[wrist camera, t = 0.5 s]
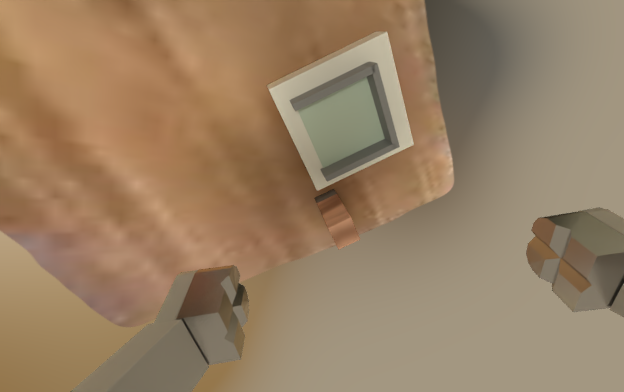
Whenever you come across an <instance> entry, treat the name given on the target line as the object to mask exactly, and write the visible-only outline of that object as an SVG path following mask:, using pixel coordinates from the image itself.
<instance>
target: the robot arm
mask: <svg viewBox="0 0 624 392" xmlns="http://www.w3.org/2000/svg"><path fill="white" fill-rule="evenodd" d="M532 232H533V233H534V234H535V237H534V238H533V239H532V240H531V241H530V242H529V243H528V246H527V251H526V255H527V259H528V263H529V265H530V267H531V268H532V270H533V271H534V272H535V273H536V274H537V275H538V277H539V278H541V279H544V280H546V281H548V282H550V283H552V291H553V292H554V293H555V294H556V295H557V296H558V297H559V298H560V299H561V300H562V301H563V302H564V303H565V304H566V305H567V306H568V307H569V308H570V309H571V310H572V311H573V312H578V311H587V310H596V309H605V308H610V310H611V311H613V312H615V313H617V314H619V315H621V316H622V317H624V219H623V218H622V217H620V216H618V215H616V214H615V213H613V212H611V211H610V210H608V209H603V208H593V209H587V210H582V211H578V212H572V213H566V214H559V215H553V216H548V217H541V218H538V219H537V220H536V221H535V222H534V224H533V227H532ZM239 279H240V273H239V271H238V269H237V267H236V266H234V265H231V266H223V267H215V268H208V269H200V270H195V271H188V272H181V273H180V274H178V275H177V276H176V278H175V280H174V282H173V284H172V287H171V289H170V291H169V293H168V295H167V297H166V299H165V301H164V303H163V305H162V307H161V309H160V311H159V313H158V315H157V318H156V320H155V322H154V323H152V324H148V325H146V326H145V327H144V328H143V329H142V330H141V331H140V332H138V333H137V334H136V335H135V336H134V337H133V338H131V339H130V340H129V341H128V342H127V343H126V344H125V345H123V346H122V347H121V348H120V349H119V350H118V351H117V352H116V353H114V354H113V355H112V356H111V357H110V358H109V359H107V360H106V361H105V362H104V363H103V364H102V365H101V366H99V367H98V368H97V369H96V370H95V371H94V372H93V373H92V374H90V375H89V376H88V377H87V378H86V379H84V380H83V381H82V382H81V383H80V384H79V385H78V386H77V387H75V388H74V389H73V390H72V391H71V392H192V390H193V389H194V387H195V386H196V385H197V383H198V382H199V380H200V379H201V377H202V376H203V375H204V373H205V372H206V370H207V369H208V368H209V366H208V365H211V364H217V363H223V362H229V361H235V360H240V359H241V356H242V351H243V345H244V338H245V335H244V332H243V330H242V327H243V326H244V324H245V323H246V322H247V320H248V313H249V300H248V295H247V292H246V289H245V287H244V286H243V285H241V284H240V283H239Z"/></svg>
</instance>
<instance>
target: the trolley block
mask: <svg viewBox="0 0 624 392" xmlns="http://www.w3.org/2000/svg"><path fill="white" fill-rule="evenodd" d="M315 200H316V202H317V205H318V207H319V209H320V211H321V214H322V216H323V218H324V220H325V223H326V225H327V227H328V229H329V231H330V233H331V235H332V237H333V239H334V241H335V243H336V245H337V247H338V249H341V248H343V247H345V246H347V245H349V244H351V243H353V242H356V241H358V240H360V237H359V235H358V233H357V230H356V228H355V226H354V223H353V221H352V219H351V217H350V215H349V213H348V212H347V210H346V208H345V207H344V205H343V203H342V202H341V200H340V198H339V197H338V195H337V193H336V192H335V190H334V189H332V190H330V191H328V192H326V193H324V194H322V195H320V196H318V197H316V198H315Z"/></svg>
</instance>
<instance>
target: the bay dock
mask: <svg viewBox="0 0 624 392" xmlns="http://www.w3.org/2000/svg"><path fill="white" fill-rule="evenodd" d="M267 87H268V89H269V91H270V94H271V96H272V98H273V100H274V102H275V104H276V106H277V108H278V110H279V112H280V114H281V117H282V119H283V121H284V123H285V125H286V127H287V129H288V131H289V133H290V135H291V137H292V140H293V142H294V144H295V146H296V148H297V150H298V152H299V154H300V156H301V158H302V160H303V163H304V165H305V167H306V169H307V171H308V173H309V175H310V177H311V179H312V181H313V183H314V186H315V188H316V190H317V191H318V190H320V189H323V188H325V187H327V186H329V185H331V184H333V183H335V182H337V181H339V180H341V179H343V178H345V177H348V176H350V175H352V174H354V173H356V172H358V171H360V170H362V169H364V168H366V167H368V166H370V165H373V164H375V163H377V162H379V161H381V160H383V159H385V158H387V157H389V156H391V155H393V154H395V153H398V152H400V151H402V150H404V149H406V148H408V147H410V146H412V145H414V143H413V139H412V135H411V130H410V126H409V122H408V118H407V114H406V109H405V105H404V101H403V97H402V93H401V88H400V84H399V80H398V76H397V71H396V67H395V63H394V59H393V55H392V50H391V46H390V42H389V38H388V34H387V32H374V33H372V34H370V35H368V36H366V37H364V38H362V39H360V40H358V41H356V42H354V43H352V44H350V45H348V46H346V47H344V48H341V49H339V50H337V51H335V52H333V53H331V54H329V55H327V56H325V57H323V58H321V59H319V60H317V61H315V62H313V63H311V64H309V65H307V66H305V67H303V68H301V69H299V70H297V71H295V72H293V73H290V74H288V75H286V76H284V77H282V78H280V79H278V80H276V81H274V82H272V83H270V84H268V85H267Z"/></svg>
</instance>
